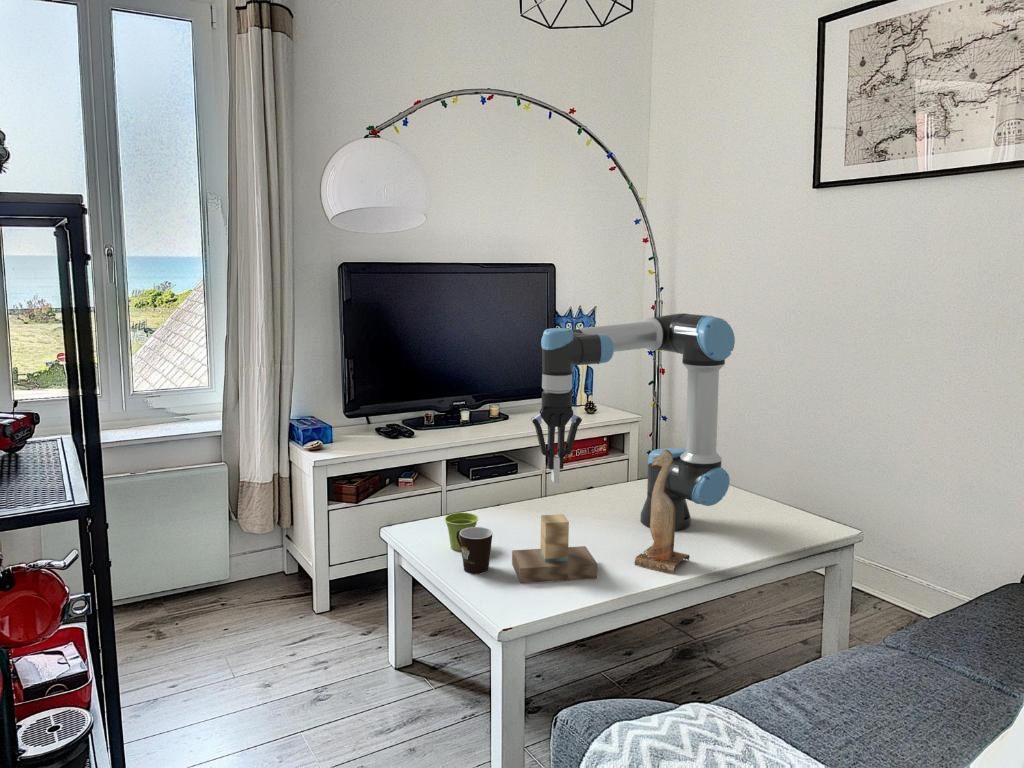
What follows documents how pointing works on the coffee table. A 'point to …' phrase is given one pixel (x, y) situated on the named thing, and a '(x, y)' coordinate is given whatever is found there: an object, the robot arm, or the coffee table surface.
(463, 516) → the plant pot
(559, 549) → the oak peg
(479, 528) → the coffee mug
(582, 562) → the walnut board
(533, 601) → the coffee table surface
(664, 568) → the bird sculpture
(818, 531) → the coffee table surface
